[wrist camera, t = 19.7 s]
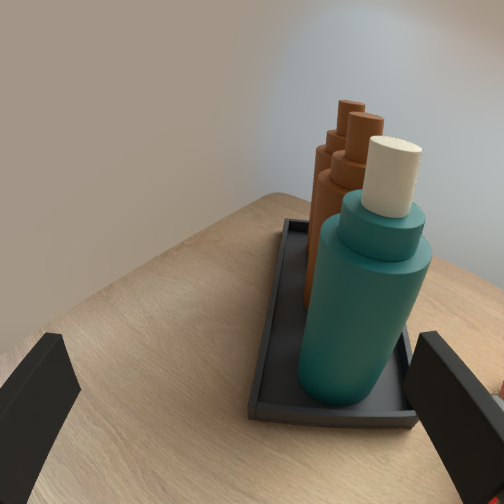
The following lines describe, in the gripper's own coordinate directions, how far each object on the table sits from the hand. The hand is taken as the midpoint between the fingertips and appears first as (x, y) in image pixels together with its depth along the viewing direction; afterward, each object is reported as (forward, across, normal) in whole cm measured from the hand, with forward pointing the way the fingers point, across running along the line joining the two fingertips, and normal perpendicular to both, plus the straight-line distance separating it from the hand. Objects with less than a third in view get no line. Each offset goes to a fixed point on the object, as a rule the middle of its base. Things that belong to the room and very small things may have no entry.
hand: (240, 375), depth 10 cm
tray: (+20, +10, -8) cm, 24 cm away
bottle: (+11, +8, -10) cm, 17 cm away
